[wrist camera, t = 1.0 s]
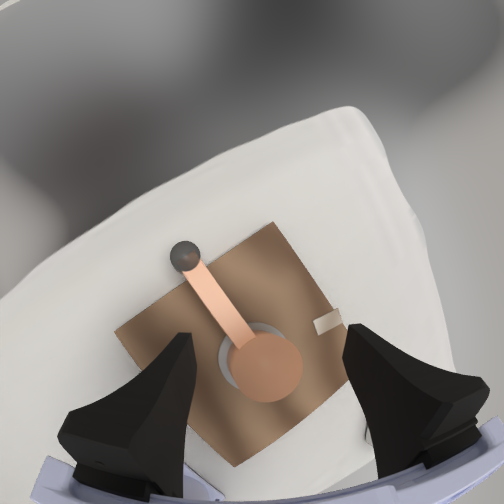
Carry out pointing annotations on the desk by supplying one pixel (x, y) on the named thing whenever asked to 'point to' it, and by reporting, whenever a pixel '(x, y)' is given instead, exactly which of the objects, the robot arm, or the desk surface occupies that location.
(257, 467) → the desk surface
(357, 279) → the desk surface
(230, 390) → the walnut base
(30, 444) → the desk surface
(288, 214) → the desk surface
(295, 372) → the wooden tool handle
